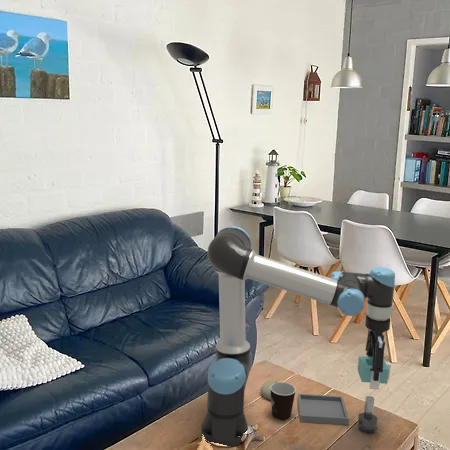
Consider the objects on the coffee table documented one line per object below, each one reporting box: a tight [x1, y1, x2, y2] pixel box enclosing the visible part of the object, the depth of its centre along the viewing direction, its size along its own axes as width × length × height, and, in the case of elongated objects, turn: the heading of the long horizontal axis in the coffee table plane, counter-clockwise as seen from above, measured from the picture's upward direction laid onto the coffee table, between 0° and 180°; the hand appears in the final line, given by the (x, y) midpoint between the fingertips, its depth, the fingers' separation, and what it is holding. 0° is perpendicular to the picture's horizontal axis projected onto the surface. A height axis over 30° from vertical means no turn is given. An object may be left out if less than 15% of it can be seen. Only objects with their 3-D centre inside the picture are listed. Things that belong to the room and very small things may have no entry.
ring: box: [357, 355, 392, 385], centre depth 171 cm, size 9×8×5 cm
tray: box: [297, 393, 350, 426], centre depth 185 cm, size 16×14×2 cm
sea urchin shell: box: [259, 380, 279, 401], centre depth 194 cm, size 9×8×8 cm
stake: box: [357, 395, 378, 435], centre depth 175 cm, size 6×6×11 cm
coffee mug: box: [270, 381, 297, 421], centre depth 183 cm, size 12×9×10 cm
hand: (371, 381), depth 172 cm, fingers closed on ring, 8 cm apart
